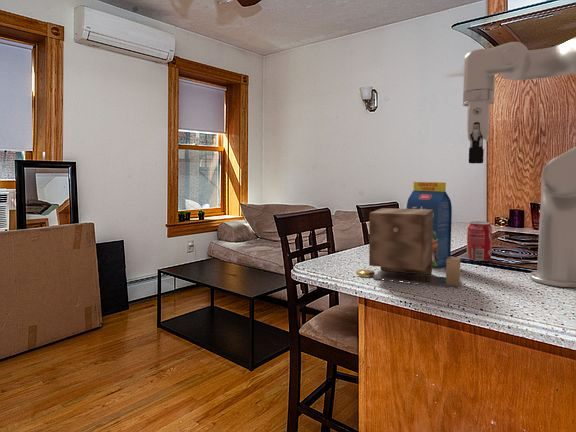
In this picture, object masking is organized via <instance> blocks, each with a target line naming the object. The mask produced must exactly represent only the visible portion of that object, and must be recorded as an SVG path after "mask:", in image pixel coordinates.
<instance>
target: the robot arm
mask: <svg viewBox="0 0 576 432" xmlns="http://www.w3.org/2000/svg"><path fill="white" fill-rule="evenodd" d="M497 74H500V76H501V77H502V78H504V79H506V80H511V81H519V80H520V81H521V80H535V79H544V78H545V79H546V78H551V77H560V76H568V75H573V74H576V36H574V37H573V38H571V39H569V40H567V41H565V42H563V43H560V44H557V45H555V46H551V47H546V48H538V49H530V50H529V49H528V47H527V46H526V45H525V44H524V43H522V42H519V41H509V42H507V43H503V44H500V45H496V46H493V47H491V48H490V47H489V48H478V49H474V50H471V51H469V52H468V53H466V55H465V56H464V59H463V88H462V90H463V92H462V93H463V95H462V107H467V113H466V114H467V115H466V117H467V120H466V121H467V124H466V125H467V127H466V129H467V139H468V141H469V148H468V163H469V164H484V152H485V149H484V141H485V142H488V141H490V140H489V135H490V105H493V104H494V103H495V102H494V101H495V80H496V79H495V76H496V75H497ZM540 179H541V180H540V181H541V182H540V183H541V184H540V186H541V187H540V188H541V189H540V191H541V192H540V209H539V226H538V245H537V246H538V249H537V266H536V269H537V270H534V271H531V272H530V273H529V279H530V280H532V281H534V282H536V283H539V284H544V285H548V286H552V287H562V288H576V146H574V147H572V148H570V149H569V150H566V151H565V152H563V153H562V154H560V155H557V156H555V157H553V158H552V159H550V160H548V162H547V163H546V164H544V166H543V168H542V170H541V177H540Z"/></svg>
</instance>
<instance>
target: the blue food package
mask: <svg viewBox="0 0 576 432" xmlns="http://www.w3.org/2000/svg"><path fill="white" fill-rule="evenodd" d="M446 186H447V183H446V182H440V181H437V182H435V181H434V182H433V181H428V182H427V181H413V190H412V191H411V193H410V195H409V197H408V199H407V202H406V209H433V240H432V268H436V269H437V268H442V267H443V268H444V267H446V263H447V257H452V256H451V254H452V253H451V250H452V249H451V248H452V217H453V216H452V213H453V209H452V208H453V206H452V200H451V198H450V196H449V194H448V193H447V192H446Z"/></svg>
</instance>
